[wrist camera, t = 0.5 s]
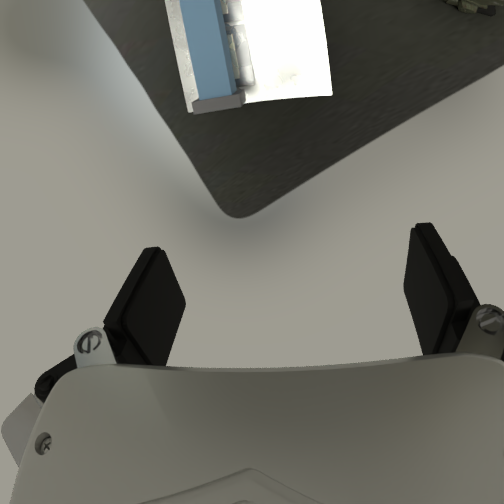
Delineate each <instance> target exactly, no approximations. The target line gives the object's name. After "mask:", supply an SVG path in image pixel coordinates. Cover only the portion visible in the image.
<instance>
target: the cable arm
mask: <svg viewBox="0 0 504 504" xmlns="http://www.w3.org/2000/svg"><path fill="white" fill-rule="evenodd" d="M179 2H180V8H181V13H182V18H183V23H184V28H185V33H186V38H187V43H188V48H189V53H190V57H191V62H192V67H193V72H194V77H195V82H196V86H197V91H198V96H199V98H198V99H196V100H195V101H193V102H191V103H192V108H193V112H194V115H195V114H200V113H206V112H212V111H218V110H224V109H230V108H237V107H242V105H243V104H244V103H245V101H246V95H245V90H244V89H241V90H237V88H236V83H235V77H234V72H233V66H232V61H231V56H230V50H229V45H228V39H227V34H226V29H225V23H224V18H223V13H222V8H221V2H220V0H179Z"/></svg>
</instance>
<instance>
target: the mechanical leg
mask: <svg viewBox="0 0 504 504" xmlns="http://www.w3.org/2000/svg"><path fill="white" fill-rule="evenodd" d="M443 1H446V3H448V4H451V5H455V6H457V7H458V10H459V11H462V12H464V13H476V12H478V13H481V14H485V15H488V16H493V15H495V5H496V6H504V0H443Z"/></svg>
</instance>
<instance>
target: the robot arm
mask: <svg viewBox="0 0 504 504" xmlns="http://www.w3.org/2000/svg"><path fill="white" fill-rule="evenodd" d="M404 293H405V296H406V299H407V302H408V305H409V308H410V311H411V315H412V318H413V321H414V325H415V328H416V332H417V335H418V338H419V342H420V346H421V349H422V353H423V356H416V357H407V358H399V359H389V360H381V361H371V362H361V363H350V364H338V365H325V366H324V365H323V366H306V367H284V368H283V367H282V368H193V367H170V366H166V363H167V360H168V357H169V354H170V351H171V348H172V345H173V342H174V339H175V336H176V333H177V330H178V327H179V324H180V321H181V318H182V315H183V312H184V310H185V305H186V302H185V298H184V296H183V293H182V291H181V289H180V286H179V284H178V281H177V279H176V277H175V274H174V272H173V270H172V267H171V265H170V262H169V260H168V258H167V255H166V253H165V251H164V250H161V248H160V247H151V248H145V249H144V250H143V252H142V253H141V255H140V257H139V258H138V260H137V262H136V263H135V265H134V267H133V268H132V270H131V272H130V274H129V275H128V277H127V279H126V281H125V283H124V284H123V286H122V288H121V290H120V291H119V293H118V295H117V297H116V299H115V300H114V302H113V304H112V306H111V308H110V310H109V311H108V313H107V315H106V317H105V319H104V321H103V322H104V324H105V325H104V327H103V329H101V328H99V327H93V328H89V329H87V330H85V331H84V332H82V333H81V334H80V335H79V336H78V337H77V339H76V341H75V343H74V354H73V355H72V356H70V357H69V358H67V359H65V360H64V361H62V362H60V363H59V364H57V365H56V366H54V367H53V368H51V369H49V370H48V371H46V372H45V373H43V374H42V375H41V376H40V377H39V378H38V380H37V382H36V384H35V388H34V389H35V394H34V395H33V394H32V393H30V394H29V395H28V396H27V397H26V398H25V399H24V400H23V401H22V402H21V404H20V405H19V406H18V407H17V408H16V409H15V410H14V411H13V412H12V413H11V414H10V415H9V416H8V417H7V418H6V420H5V421H4V422H3V425H2V430H1V432H2V436H3V438H4V440H5V442H6V444H7V446H8V448H9V450H10V452H11V454H12V456H13V458H14V459H15V461H16V463H17V465H18V467H19V470H18V474H17V477H16V481H15V484H14V488H13V492H12V497H11V500H10V504H504V311H503V310H502V309H500V308H499V307H496V306H494V305H491V304H484V305H480V303H479V301H478V299H477V297H476V295H475V293H474V291H473V289H472V287H471V285H470V283H469V281H468V280H467V278H466V276H465V274H464V272H463V270H462V268H461V267H460V265H459V263H458V261H457V260H456V258H455V257H454V256H451V255H450V253H449V251H448V249H447V248H446V246H445V244H444V243H443V241H442V239H441V237H440V236H439V234H438V233H437V231H436V229H435V228H434V226H433V224H432V223H430V222H429V223H417V224H416V226H415V228H412V229H411V233H410V241H409V250H408V257H407V265H406V271H405V278H404Z"/></svg>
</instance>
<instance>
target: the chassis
mask: <svg viewBox="0 0 504 504" xmlns="http://www.w3.org/2000/svg"><path fill="white" fill-rule="evenodd" d="M220 2H221V8H222V13H223V18H224V23H225V29H226V34H227V39H228V45H229V50H230V56H231V61H232V66H233V72H234V77H235V83H236V88H237V90H241V89H244V90H245V95H246V101H245V103H250V102H258V101H266V100H275V99H285V98H297V97H310V96H327V95H332V87H331V78H330V69H329V60H328V52H327V44H326V37H325V30H324V23H323V17H322V11H321V5H320V0H220ZM165 4H166V9H167V14H168V19H169V24H170V29H171V34H172V39H173V44H174V49H175V53H176V58H177V63H178V67H179V72H180V77H181V81H182V86H183V90H184V95H185V99H186V104H187V108H188V113H189V112H193V108H192V103H191V102H193V101H195V100H196V99H198V98H199V96H198V91H197V86H196V82H195V77H194V72H193V67H192V62H191V57H190V53H189V48H188V43H187V38H186V33H185V28H184V23H183V18H182V13H181V8H180V2H179V0H165Z"/></svg>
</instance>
